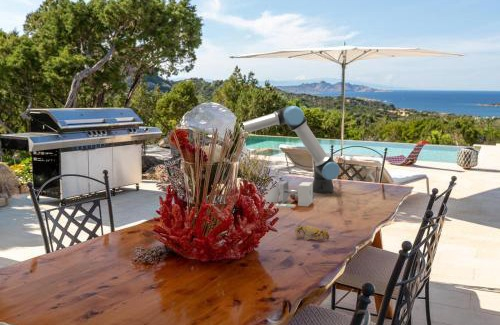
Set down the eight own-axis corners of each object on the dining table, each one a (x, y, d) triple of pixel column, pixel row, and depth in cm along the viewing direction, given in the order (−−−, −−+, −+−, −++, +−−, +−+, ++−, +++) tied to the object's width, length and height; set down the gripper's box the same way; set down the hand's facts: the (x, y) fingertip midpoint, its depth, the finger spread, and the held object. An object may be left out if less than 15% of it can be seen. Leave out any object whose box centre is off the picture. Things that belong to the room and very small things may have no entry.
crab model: (333, 237, 209) (334, 225, 208) (324, 244, 198) (324, 231, 197) (302, 232, 216) (302, 220, 216) (290, 239, 205) (291, 226, 205)
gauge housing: (275, 206, 268) (275, 186, 266) (283, 200, 285) (283, 180, 284) (305, 208, 262) (306, 187, 260) (312, 202, 279) (312, 182, 278)
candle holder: (279, 203, 277) (279, 183, 275) (263, 203, 277) (263, 183, 275) (279, 199, 286) (279, 180, 285) (263, 199, 287) (263, 180, 285)
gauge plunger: (277, 205, 268) (277, 185, 267) (285, 199, 285) (285, 180, 283) (294, 206, 265) (294, 186, 264) (301, 200, 282) (301, 181, 280)
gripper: (230, 158, 294) (255, 186, 290) (222, 160, 282) (248, 189, 278) (238, 150, 291) (263, 178, 288) (230, 152, 279) (256, 181, 276)
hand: (256, 183), depth 283 cm, fingers closed
